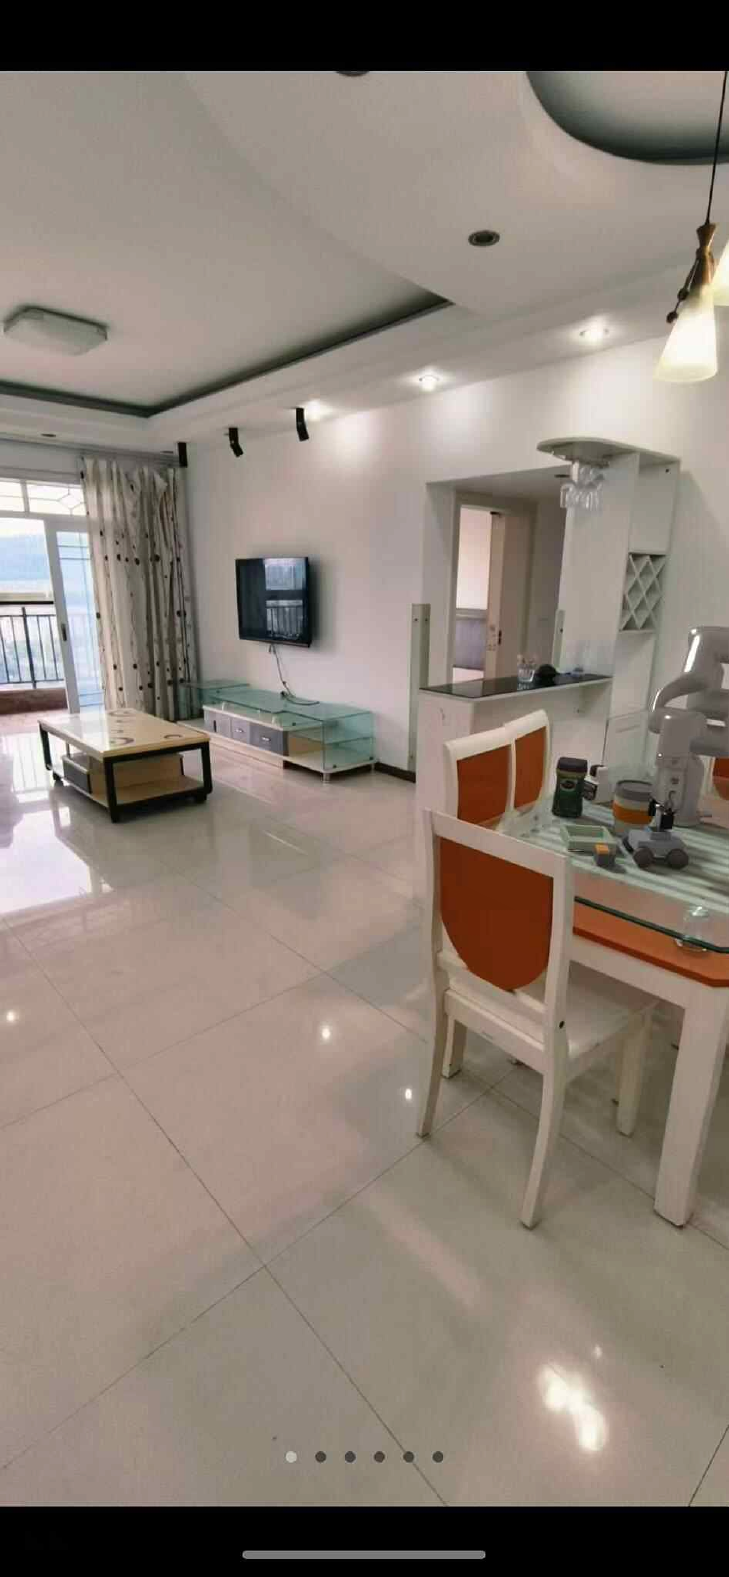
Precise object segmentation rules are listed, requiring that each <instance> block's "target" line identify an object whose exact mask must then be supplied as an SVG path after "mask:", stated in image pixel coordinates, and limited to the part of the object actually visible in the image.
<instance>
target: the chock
mask: <svg viewBox="0 0 729 1577" xmlns="http://www.w3.org/2000/svg"><path fill="white" fill-rule="evenodd" d="M616 854H617V853H616ZM616 854H615V852H614V851H613V849H612V848H608V847H607V845H598V844H596V845H595V852H593V859H594V860H595V861H594V860H593V859H592V860H593V861H594V863H595V862H596V863H595V865H596V864H597V865H601V866H600V867H613V868H614V867H615V862H616V858H617V856H616ZM597 865H596V866H597ZM603 865H604V866H603Z"/></svg>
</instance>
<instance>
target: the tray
mask: <svg viewBox="0 0 729 1577" xmlns="http://www.w3.org/2000/svg"><path fill="white" fill-rule="evenodd" d="M559 824H560V825H559V829H558V831H559V832H558V834H559V836H560V838H561V840H562V842H563V844H564V845H566V846H565V848H566V847H567V848H566V850H567V849H568V850H581V851H589V852H588V853H594V852H595V845H596V844H598V845H607V847H608V848H612V849H613V851H614V852H615V854H617V847H618V843H617V840H615V839H614V837H613V835H612V834H611V833H610V831H609V830H608V828H607V827H606V826H604V825H602V826H601V825H590V824H589V825H587V824H586V825H584V824H568V823H559ZM568 850H567V851H568ZM590 851H591V852H590Z"/></svg>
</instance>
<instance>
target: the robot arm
mask: <svg viewBox="0 0 729 1577" xmlns="http://www.w3.org/2000/svg"><path fill="white" fill-rule="evenodd" d="M687 647H688V650H687V652H686V655H685V659H684V662H683V666H682V668H681V672H680V674H679V675H678V676H675V677H674V678H673V679H671V680H669V681H668V682H667V683H666V684H664V685H663V686H662V687H661V688H660V689H659V690H658V692H657V693H656V694H655V696H654V699H653V701H652V704H651V708H650V710H649V712H648V713H649V714H648V716H647V724H646V725H647V729H648V731H650V732H651V733H653V734H657V735H659V737H658V742H657V747H656V753H655V758H654V762H653V763H654V764H653V765H654V766H655V768H654V772H653V776H652V777H653V778H652V781H651V783H652V784H651V792H650V794H651V797H650V799H649V801H650V802H649V807H648V812H647V815H648V816H654V817H653V818H655V814H656V808H655V804H656V803H659V804H660V805H662V806H663V814H661V820H660V825H659V828H660V829H667V830H668V831H672V830H673V828H674V827H673V826H676V827H683V828H684V827H685V828H693V827H698V826H699V825H700V824H701V819H703V818H705V819H706V818H709V819H712V818H713V816H714V815H713V811H706V810H705V809H699V808H698V806H699V801H700V796H701V793H702V787H703V782H704V777H705V773H706V772H705V771H706V768H705V764H704V763H703V760H702V759H701V757H700V756H705V757H709V758H716V759H718V758H719V759H729V689H728V688H723V686H722V685H723V680H724V676H725V669H724V666H723V664H724V665H725V664H726V665H729V626H727V627H726V626H720V625H719V626H717V625H700V626H695V627H693V628H692V629H690V631H689V633H688V636H687ZM683 696H687V698H686V703H685V708H678V707H672V706H666V705H667V704H668V703H669V702H670V701H672V700H675V699H677V698H680V697H683ZM708 720H711V721H717V722H718V721H719V722H723V723H724V725H717V724H710V723H708ZM667 807H669V808H668V809H667Z"/></svg>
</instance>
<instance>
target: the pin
mask: <svg viewBox="0 0 729 1577" xmlns="http://www.w3.org/2000/svg"><path fill="white" fill-rule="evenodd" d="M655 808H656V814H655V817H654V818H653V825H652V826H653V830H652V831H653V832H663V829H660V828H659V825H660V820H661V814H663V806H662V805H660V804H659V803H656V804H655ZM668 808H669V807H667V809H668Z"/></svg>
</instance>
